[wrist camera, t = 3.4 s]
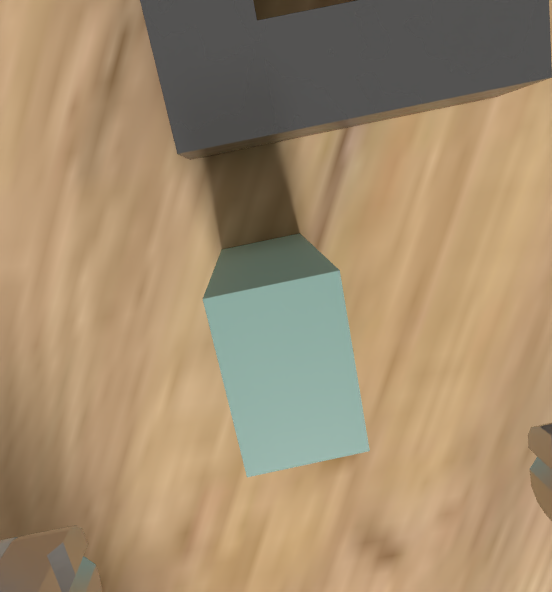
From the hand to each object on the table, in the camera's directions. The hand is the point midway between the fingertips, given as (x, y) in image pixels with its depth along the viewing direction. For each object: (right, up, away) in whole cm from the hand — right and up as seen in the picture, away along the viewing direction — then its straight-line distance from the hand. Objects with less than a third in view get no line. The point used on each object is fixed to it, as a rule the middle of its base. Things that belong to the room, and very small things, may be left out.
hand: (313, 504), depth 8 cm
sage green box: (-1, +4, +15) cm, 16 cm away
